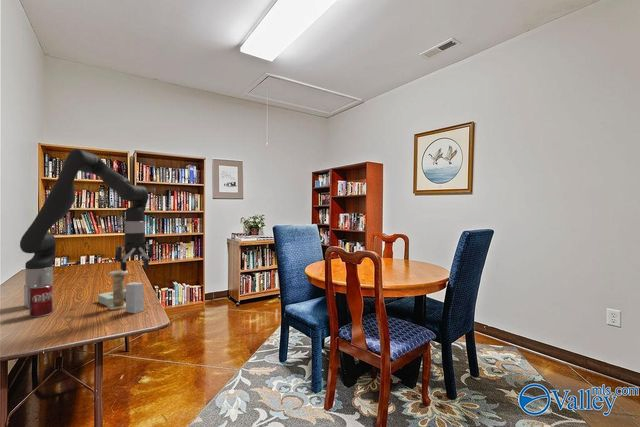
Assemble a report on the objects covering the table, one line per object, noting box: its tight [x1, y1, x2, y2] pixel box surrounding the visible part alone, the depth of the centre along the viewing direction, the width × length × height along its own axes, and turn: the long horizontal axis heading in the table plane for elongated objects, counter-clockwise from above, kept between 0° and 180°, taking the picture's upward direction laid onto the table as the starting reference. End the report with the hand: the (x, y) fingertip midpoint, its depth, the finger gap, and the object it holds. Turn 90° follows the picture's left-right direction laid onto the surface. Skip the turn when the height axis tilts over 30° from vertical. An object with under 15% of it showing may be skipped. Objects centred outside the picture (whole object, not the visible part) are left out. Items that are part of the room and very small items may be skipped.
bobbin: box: [108, 269, 129, 311], centre depth 138 cm, size 7×7×16 cm
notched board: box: [97, 288, 126, 308], centre depth 148 cm, size 14×12×4 cm
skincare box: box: [125, 281, 145, 314], centre depth 133 cm, size 6×4×12 cm
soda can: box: [28, 284, 54, 318], centre depth 128 cm, size 7×7×12 cm
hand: (135, 269), depth 133 cm, fingers open, 8 cm apart
